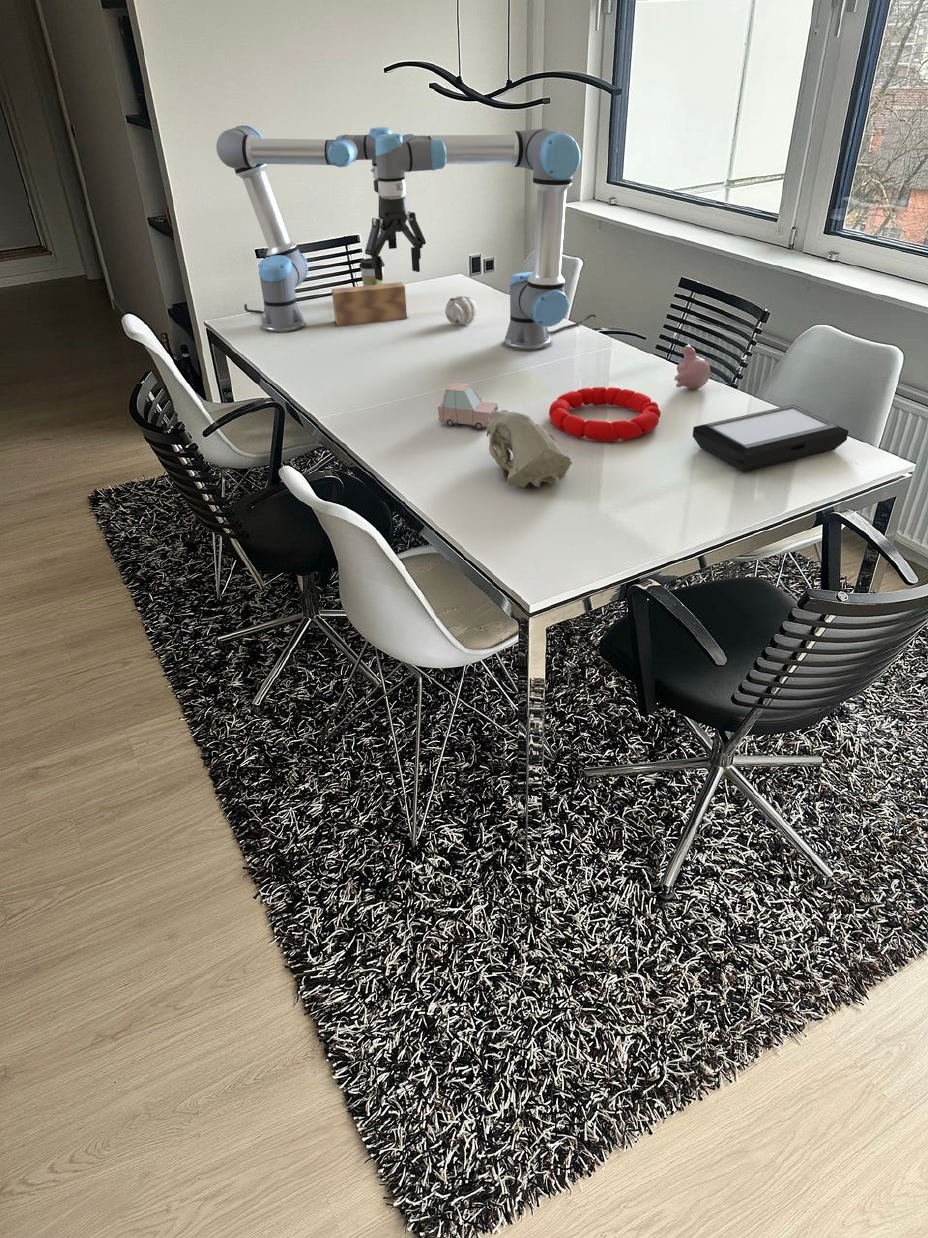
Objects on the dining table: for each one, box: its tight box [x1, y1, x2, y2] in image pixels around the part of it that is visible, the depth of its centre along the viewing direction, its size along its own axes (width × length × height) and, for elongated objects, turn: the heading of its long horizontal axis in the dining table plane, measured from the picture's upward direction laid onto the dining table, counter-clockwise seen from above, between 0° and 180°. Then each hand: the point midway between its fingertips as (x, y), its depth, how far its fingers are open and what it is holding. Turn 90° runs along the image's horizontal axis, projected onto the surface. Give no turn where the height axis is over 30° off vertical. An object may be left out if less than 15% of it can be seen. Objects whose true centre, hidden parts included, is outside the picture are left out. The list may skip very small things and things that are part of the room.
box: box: [331, 281, 408, 327], centre depth 327 cm, size 26×6×12 cm, turn 105°
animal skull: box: [485, 409, 573, 489], centre depth 216 cm, size 17×25×20 cm
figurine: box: [674, 344, 711, 390], centre depth 259 cm, size 9×11×12 cm
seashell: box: [444, 295, 478, 326], centre depth 319 cm, size 10×15×10 cm
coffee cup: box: [358, 257, 385, 286], centre depth 348 cm, size 10×10×15 cm
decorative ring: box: [548, 386, 661, 442], centre depth 242 cm, size 7×30×30 cm
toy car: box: [437, 382, 499, 431], centre depth 243 cm, size 9×15×10 cm, turn 70°
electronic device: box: [692, 404, 850, 473], centre depth 224 cm, size 32×6×20 cm
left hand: (389, 244), depth 318 cm, fingers open, 13 cm apart
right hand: (397, 275), depth 262 cm, fingers open, 13 cm apart
